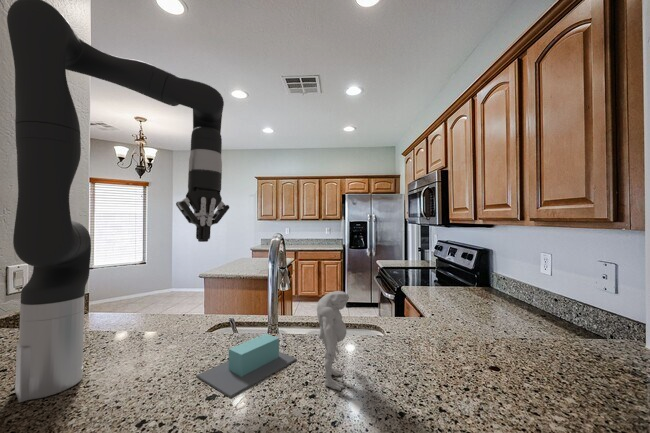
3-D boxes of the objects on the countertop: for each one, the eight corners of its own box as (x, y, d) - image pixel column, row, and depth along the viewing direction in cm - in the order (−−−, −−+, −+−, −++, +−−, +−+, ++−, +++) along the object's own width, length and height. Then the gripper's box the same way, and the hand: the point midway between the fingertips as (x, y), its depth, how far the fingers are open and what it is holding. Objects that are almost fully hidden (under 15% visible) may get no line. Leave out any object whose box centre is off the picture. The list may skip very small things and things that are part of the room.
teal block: (241, 354, 58) (279, 337, 66) (228, 349, 60) (267, 333, 69) (241, 376, 57) (279, 356, 66) (228, 370, 60) (267, 351, 69)
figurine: (354, 409, 48) (354, 304, 48) (316, 409, 47) (315, 304, 48) (346, 359, 65) (345, 283, 66) (317, 359, 65) (317, 283, 66)
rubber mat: (230, 397, 51) (230, 395, 51) (196, 376, 58) (196, 375, 58) (296, 360, 65) (296, 358, 65) (263, 347, 72) (263, 345, 72)
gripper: (221, 177, 76) (219, 240, 75) (170, 168, 65) (167, 241, 64) (237, 174, 71) (235, 241, 70) (185, 163, 60) (182, 243, 60)
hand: (202, 241), depth 67 cm, fingers closed
